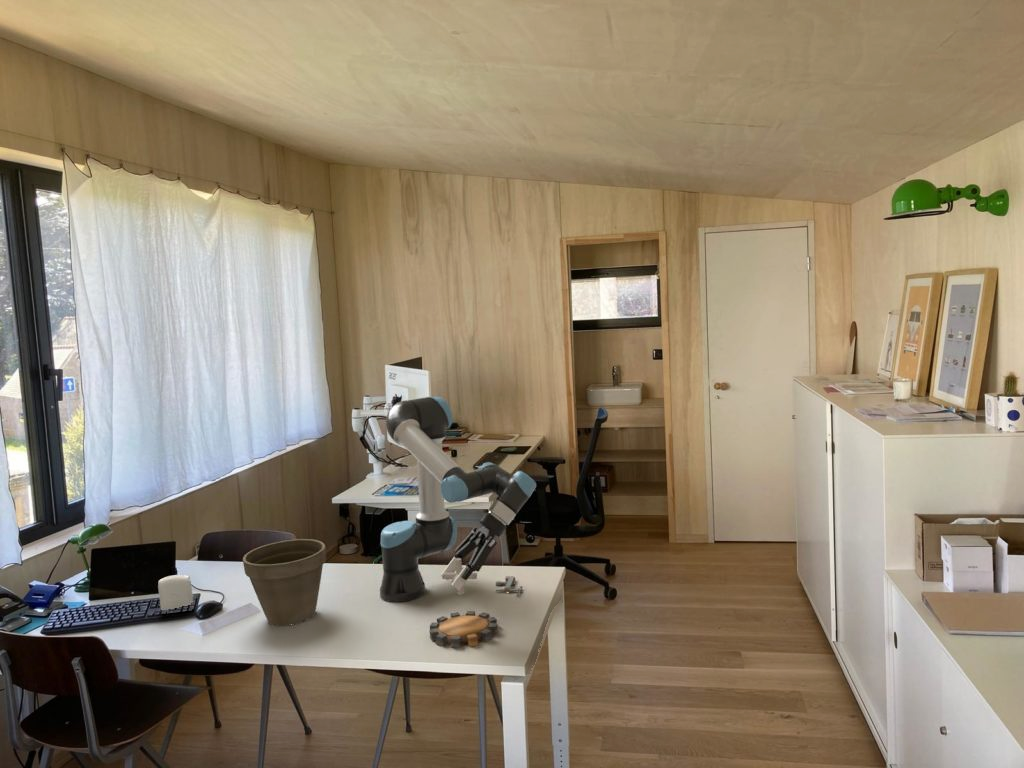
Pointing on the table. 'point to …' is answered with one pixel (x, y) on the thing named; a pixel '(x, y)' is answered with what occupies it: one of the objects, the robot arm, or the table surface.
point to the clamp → (508, 582)
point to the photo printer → (175, 592)
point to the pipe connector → (458, 570)
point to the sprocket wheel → (463, 629)
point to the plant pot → (286, 578)
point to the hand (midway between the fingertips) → (449, 582)
